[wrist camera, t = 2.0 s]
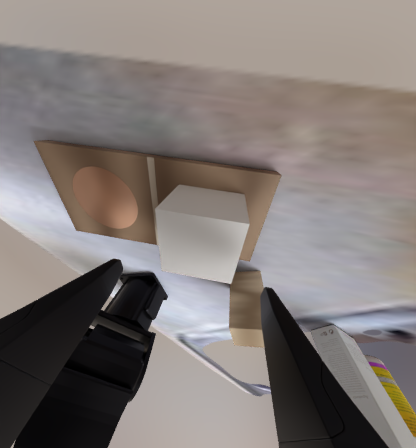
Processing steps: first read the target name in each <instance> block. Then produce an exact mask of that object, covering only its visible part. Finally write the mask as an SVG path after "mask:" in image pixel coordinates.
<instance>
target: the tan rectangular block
mask: <svg viewBox="0 0 416 448" xmlns="http://www.w3.org/2000/svg"><path fill="white" fill-rule="evenodd" d="M263 289H264V287H263V282H262V277H261V272H260V271H247V272H235V274H234V277H233V280H232V283H231V284H230V313H229V329H230V332H231V335H232V339H233V341H234V345H237V346H250V347H262V348H265V347H264V340H263V334H262V326H261V305H260V296H261V293H262V291H263Z"/></svg>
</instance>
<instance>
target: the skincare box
mask: <svg viewBox="0 0 416 448" xmlns="http://www.w3.org/2000/svg"><path fill="white" fill-rule="evenodd" d="M311 334H312V337H313V339H314V342H315V344H316V347H317V349H318V351H319V353H320V356H321V359H322V361H324V363H325V364H326V366H327V367H328V368H329V370H330V371H331V373H332V374H333V375H334V377H335V378H336V380H337V381H338V382H339V384H340V385H341V387H342V388H343V389H344V391H345V392H346V393H347V394H348V396H349V397H350V398H351V400H352V401H353V402H354V404H355V405H356V406H357V407H358V409H359V410H360V411H361V413H362V414H363V415H364V416H365V418H366V419H367V420H368V421H369V423H370V424H371V425H372V427H373V428H374V429H375V430H376V432H377V433H378V434H379V435H380V437H381V438H382V439H383V440H384V442H385V443H386V444H387V446H388V447H389V448H416V440H415V438H414V437H413V435H412V433H411V432H410V430H409V428H408V427H407V425H406V424H405V422H404V420H403V419H402V417H401V415H400V414H399V412H398V410H397V409H396V407H395V406H394V404H393V402H392V401H391V399H390V397H389V396H388V394H387V392H386V391H385V389H384V388H383V386H382V384H381V383H380V381H379V379H378V378H377V376H376V374H375V373H374V371H373V370H372V368H371V366H370V365H369V363H368V361H367V360H366V358H365V356H364V355H363V353H362V351H361V350H360V348H359V347H358V345H357V343H356V342H355V340H354V339H353V338H352V337H350V336H349V335H347V334H346V333H344V332H343V331H342V330H340V329H339V328H337V327H336V326H334V325H330V326H325V327H322V328H318V329H315V330H312V331H311Z"/></svg>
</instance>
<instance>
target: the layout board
mask: <svg viewBox="0 0 416 448" xmlns="http://www.w3.org/2000/svg"><path fill="white" fill-rule="evenodd" d="M34 143H35V145H36V147H37V149H38V151H39V154H40V156H41V158H42V160H43V162H44V164H45V166H46V168H47V170H48V172H49V174H50V177H51V179H52V181H53V183H54V185H55V187H56V189H57V191H58V193H59V195H60V197H61V200H62V202H63V204H64V206H65V208H66V210H67V212H68V214H69V216H70V218H71V220H72V223H73V225H74V227H75V229H76V231H82V232H88V233H93V234H99V235H104V236H110V237H116V238H121V239H127V240H132V241H138V242H144V243H149V244H155V245H159V241H158V232H157V222H156V213H155V208H156V207H157V206H158V205H159V204H160V203H161V202H162V201H163V200H164V199H165V198H166V197H167V196H168V195H169V194H170V193H171V192H172V191H173V190H174V189H175V188H176V187H177V186H178V185H185V186H192V187H199V188H206V189H212V190H219V191H226V192H232V193H239V194H245V200H246V206H247V212H248V218H249V223H250V225H249V228H248V231H247V234H246V238H245V241H244V244H243V248H242V251H241V254H240V257H239V260H245V261H250V259H251V256H252V254H253V251H254V248H255V246H256V243H257V240H258V237H259V235H260V232H261V229H262V227H263V224H264V221H265V218H266V216H267V213H268V210H269V208H270V205H271V202H272V199H273V197H274V194H275V191H276V189H277V186H278V183H279V181H280V178H281V175H280V174H279V173H278V172H274V171H267V170H260V169H252V168H245V167H238V166H231V165H223V164H216V163H209V162H202V161H194V160H187V159H180V158H173V157H165V156H158V155H151V154H143V153H136V152H129V151H122V150H114V149H107V148H100V147H93V146H85V145H78V144H71V143H64V142H56V141H49V140H44V141H34Z"/></svg>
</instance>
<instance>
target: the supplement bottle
mask: <svg viewBox="0 0 416 448" xmlns="http://www.w3.org/2000/svg"><path fill="white" fill-rule="evenodd" d="M364 356H365V358H366V360H367V361H368V363H369V365H370V366H371V368H372V370H373V371H374V373H375V374H376V376H377V378H378V379H379V381H380V383H381V384H382V386H383V388H384V389H385V391H386V392H387V394H388V396H389V397H390V399H391V401H392V402H393V404H394V406H395V407H396V409H397V410H398V412H399V414H400V415H401V417H402V419H403V420H404V422H405V424H406V425H407V427H408V428H409V430H410V432H411V433H412V435H413V437H414V438H415V440H416V414H415V412H414V411H413V409H412V408H411V406H410V405H409V403H408V401H407V400H406V398H405V397H404V395H403V394H402V392H401V390H400V389H399V387H398V386H397V384H396V383H395V381H394V379H393V378H392V376H391V375H390V373H389V372H388V370H387V368H386V367H385V365H384V364H383V362H381V360H379V359H377V358H376V357H372V356H368V355H364Z"/></svg>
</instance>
